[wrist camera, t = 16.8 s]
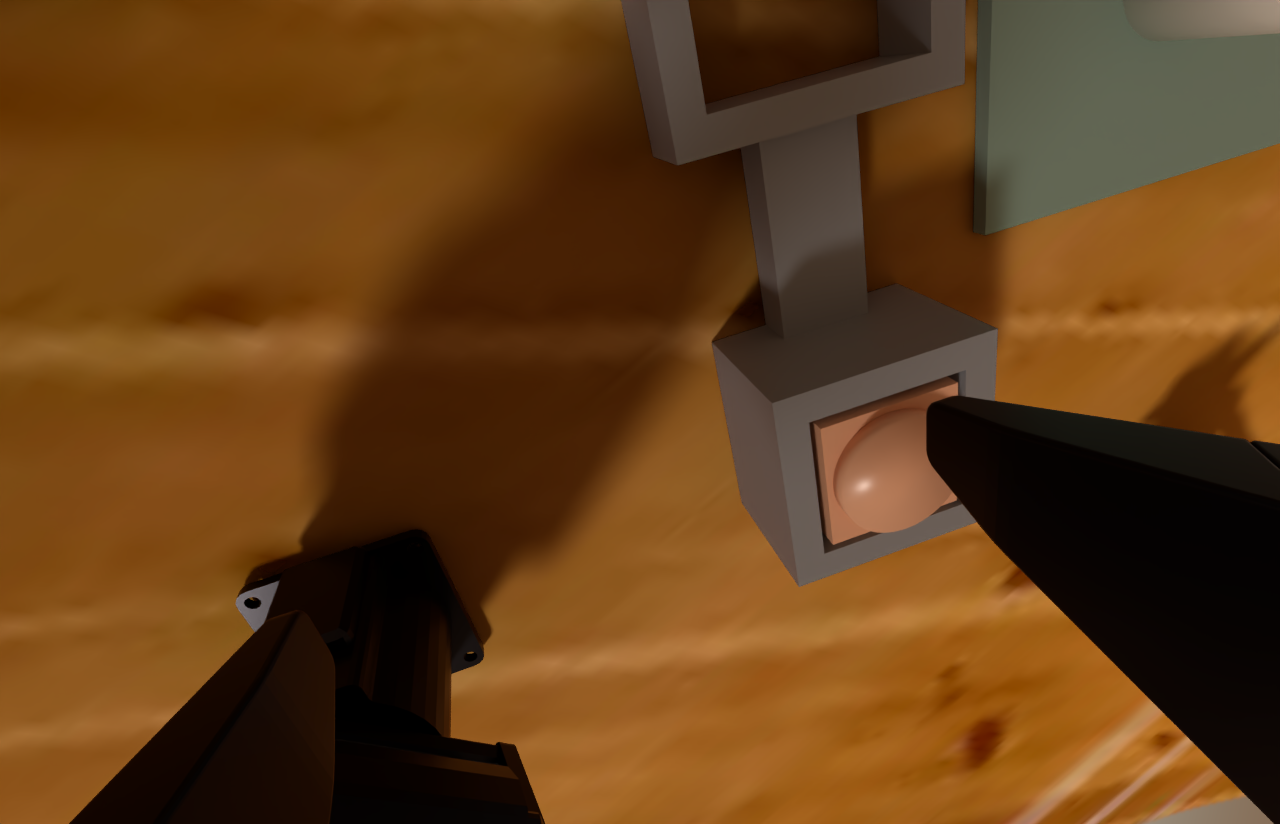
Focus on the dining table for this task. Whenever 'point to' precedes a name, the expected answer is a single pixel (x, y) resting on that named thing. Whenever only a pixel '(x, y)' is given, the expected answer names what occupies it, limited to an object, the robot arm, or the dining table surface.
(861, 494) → the plunger
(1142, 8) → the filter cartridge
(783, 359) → the grey long framed piece
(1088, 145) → the green mat
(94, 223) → the dining table surface
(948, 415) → the robot arm
